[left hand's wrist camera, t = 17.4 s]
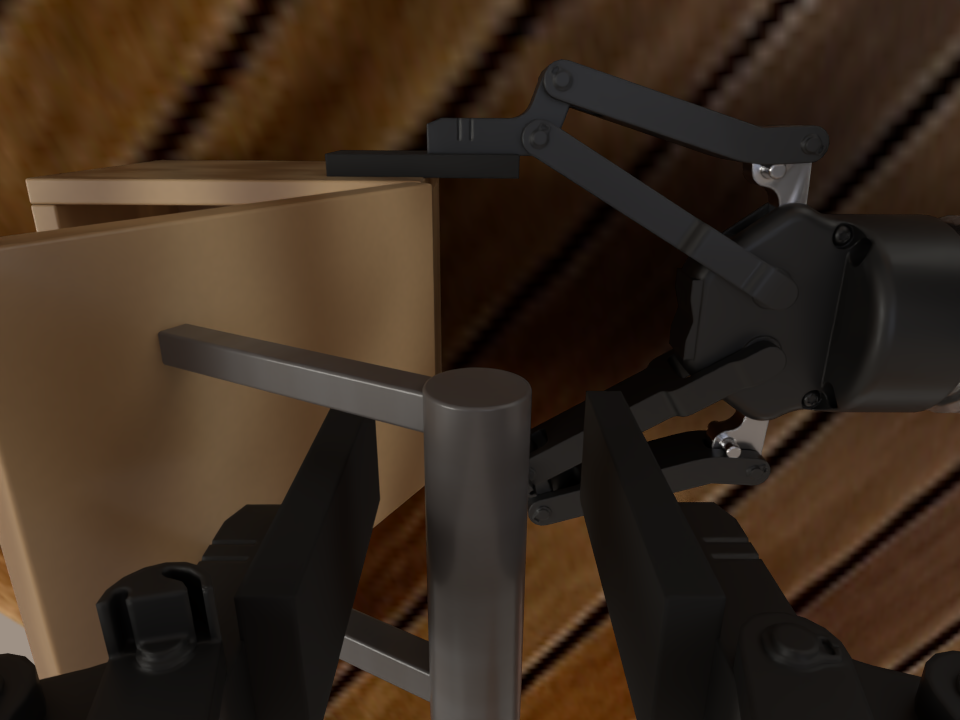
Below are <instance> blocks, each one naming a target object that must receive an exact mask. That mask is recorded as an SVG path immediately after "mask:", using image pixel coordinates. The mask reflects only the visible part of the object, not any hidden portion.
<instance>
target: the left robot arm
mask: <svg viewBox="0 0 960 720" xmlns="http://www.w3.org/2000/svg"><path fill="white" fill-rule="evenodd" d="M379 502H380V486H379V469H378V453H377V436H376V420H373V419H369V418H365V417H362V416H358V415H354V414H350V413H346V412H343V411H339V410H335V409H331V408H330V410H329V412H328V414H327V416H326V418H325V419H324V421H323V423H322V425H321V427H320V429H319V431H318V433H317V435H316V437H315V439H314V441H313V443H312V445H311V447H310V449H309V451H308V453H307V455H306V457H305V459H304V461H303V463H302V465H301V467H300V468H299V470H298V472H297V474H296V476H295V478H294V480H293V482H292V484H291V486H290V488H289V490H288V492H287V494H286V496H285V498H284V500H283V502H282V504H246V505H245V506H244V507H242V508H241V509H240V510H238V511H237V512H236V513H235V514H233V515H232V516H231V517H229V518H228V519H227V520H225V521H224V523H223V524H222V526H221V527H220V529H219V531H218V532H217V534H216V535H215V537H214V538H213V540H212V545H209V546H208V548H207V550H206V551H205V553H204V554H203V556H202V561H199V562H198V564H197V565H196V564H192V563H189V562H165V563H161V564H157V565H153V566H148V567H144V568H142V569H140V570H138V571H136V572H133V573H131V574H129V575H127V576H125V577H123V578H121V579H120V580H119V581H117V582H116V583H115V584H113V585H112V586H111V587H109V588H108V589H107V590H106V591H105V592H104V594H103V595H102V596H101V598H100V599H99V600H98V602H97V603H96V608H97V612H98V616H99V620H100V624H101V628H102V632H103V636H104V640H105V644H106V648H107V652H108V656H109V660H108V662H106V663H103V664H100V665H97V666H93V667H90V668H86V669H82V670H78V671H74V672H70V673H65V674H61V675H57V676H53V677H49V678H44V679H40V680H39V677H38V674H37V670H36V667H35V665H34V664H33V663H32V662H31V661H30V660H28V659H27V658H26V657H25V656H20V655H14V654H9V653H7V654H0V720H323V718H324V715H325V711H326V707H327V703H328V699H329V695H330V691H331V688H332V684H333V680H334V676H335V672H336V668H337V664H338V661H339V657H340V653H341V649H342V645H343V641H344V637H345V634H346V630H347V626H348V622H349V618H350V614H351V610H352V607H353V603H354V599H355V595H356V591H357V587H358V583H359V580H360V576H361V572H362V568H363V564H364V560H365V556H366V553H367V549H368V545H369V541H370V537H371V533H372V529H373V526H374V522H375V518H376V514H377V510H378V506H379ZM580 502H581V506H582V510H583V514H584V518H585V522H586V526H587V529H588V533H589V537H590V541H591V545H592V549H593V553H594V556H595V560H596V564H597V568H598V572H599V576H600V580H601V583H602V587H603V591H604V595H605V599H606V603H607V607H608V610H609V614H610V618H611V622H612V626H613V630H614V634H615V637H616V641H617V645H618V649H619V653H620V657H621V661H622V664H623V668H624V672H625V676H626V680H627V684H628V688H629V691H630V695H631V699H632V703H633V707H634V711H635V715H636V718H637V720H960V651H948V652H942V653H937V654H935V655H934V656H933V657H931V658H930V659H929V660H928V661H927V662H926V664H925V667H924V670H923V674H922V677H919V676H915V675H911V674H906V673H902V672H898V671H894V670H889V669H885V668H881V667H877V666H872V665H869V664H866V663H863V662H860V661H856V660H853V659H852V658H851V657H850V655H849V653H848V652H847V650H846V649H845V647H844V645H843V644H842V642H841V641H840V640H838V639H837V638H836V637H835V636H834V635H832V634H831V633H830V632H829V631H828V630H827V629H825V628H824V627H822V626H820V625H818V624H816V623H814V622H812V621H810V620H808V619H806V618H803V617H800V616H797V615H796V613H795V612H794V610H793V608H792V607H791V605H790V604H789V602H788V601H787V599H786V597H785V596H784V594H783V593H782V591H781V590H780V588H779V586H778V585H777V583H776V582H775V580H774V578H773V577H772V575H771V574H770V572H769V571H768V569H767V567H766V566H765V564H764V563H763V561H762V559H759V557H758V556H759V555H758V553H757V552H756V550H755V548H754V547H753V545H752V544H751V542H748V537H747V536H746V534H745V533H744V531H743V529H742V528H741V526H740V525H739V523H738V522H737V520H736V519H735V518H734V517H732V516H731V515H730V514H729V513H727V512H726V511H725V510H723V509H722V508H721V507H719V506H718V505H717V504H715V503H714V502H677V500H676V498H675V496H674V494H673V492H672V490H671V488H670V486H669V484H668V482H667V480H666V478H665V476H664V474H663V472H662V470H661V468H660V467H659V465H658V463H657V461H656V459H655V457H654V455H653V453H652V451H651V449H650V447H649V445H648V443H647V441H646V439H645V437H644V435H643V433H642V431H641V429H640V427H639V425H638V423H637V421H636V419H635V418H634V416H633V414H632V412H631V410H630V408H629V406H628V404H627V402H626V400H625V398H624V396H623V394H622V392H621V391H586V403H585V420H584V436H583V453H582V469H581V486H580Z"/></svg>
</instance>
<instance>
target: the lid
mask: <svg viewBox="0 0 960 720" xmlns="http://www.w3.org/2000/svg"><path fill="white" fill-rule="evenodd" d="M531 400H532V389H531V386H530V384H529V383H528V381H526V380H525V379H524V378H522V377H521V376H519V375H517V374H514V373H511V372H508V371H504V370H499V369H492V368H461V369H454V370H449V371H445V372H442V373H439V374H437V375H435V328H434V272H433V216H432V185H431V184H429V183H416V182H405V183H398V184H390V185H383V186H375V187H368V188H360V189H353V190H346V191H338V192H331V193H323V194H316V195H308V196H301V197H294V198H286V199H279V200H271V201H264V202H256V203H249V204H242V205H234V206H227V207H219V208H212V209H204V210H197V211H190V212H182V213H175V214H167V215H160V216H152V217H145V218H138V219H130V220H123V221H115V222H108V223H100V224H93V225H86V226H78V227H71V228H63V229H56V230H48V231H41V232H34V233H26V234H19V235H11V236H4V237H0V545H1V548H2V552H3V555H4V559H5V562H6V566H7V569H8V572H9V576H10V579H11V583H12V586H13V590H14V593H15V597H16V600H17V604H18V607H19V610H20V614H21V617H22V621H23V624H24V628H25V631H26V635H27V638H28V642H29V645H30V649H31V652H32V655H33V659H34V662H35V666H36V669H37V673H38V676H39V680H40V679H44V678H49V677H53V676H57V675H61V674H65V673H70V672H74V671H78V670H82V669H86V668H90V667H93V666H97V665H100V664H103V663H106V662H108V660H109V656H108V652H107V648H106V644H105V640H104V636H103V632H102V628H101V624H100V620H99V616H98V612H97V608H96V603H97V602H98V600H99V599H100V598H101V596H102V595H103V594H104V592H105V591H106V590H107V589H108V588H109V587H111V586H112V585H113V584H115V583H116V582H117V581H119V580H120V579H121V578H123V577H125V576H127V575H129V574H131V573H133V572H136V571H138V570H140V569H142V568H144V567H148V566H153V565H157V564H161V563H165V562H189V563H192V564H196V565H197V564H198V562H199V561H202V556H203V554H204V553H205V551H206V550H207V548H208V546H209V545H212V540H213V538H214V537H215V535H216V534H217V532H218V531H219V529H220V527H221V526H222V524H223V523H224V521H225V520H227V519H228V518H229V517H231V516H232V515H233V514H235V513H236V512H237V511H238V510H240V509H241V508H242V507H244V506H245V505H246V504H282V502H283V500H284V498H285V496H286V494H287V492H288V490H289V488H290V486H291V484H292V482H293V480H294V478H295V476H296V474H297V472H298V470H299V468H300V467H301V465H302V463H303V461H304V459H305V457H306V455H307V453H308V451H309V449H310V447H311V445H312V443H313V441H314V439H315V437H316V435H317V433H318V431H319V429H320V427H321V425H322V423H323V421H324V419H325V418H326V416H327V414H328V412H329V410H330V408H331V409H335V410H339V411H343V412H346V413H350V414H354V415H358V416H362V417H365V418H369V419H373V420H376V436H377V453H378V469H379V486H380V502H379V506H378V510H377V514H376V518H375V522H374V526H373V528H374V527H375V526H376V525H377V524H379V523H380V522H381V521H382V520H383V519H385V518H386V517H387V516H388V515H389V514H391V513H392V512H393V511H394V510H395V509H397V508H398V507H399V506H400V505H401V504H403V503H404V502H405V501H406V500H408V499H409V498H410V497H411V496H412V495H414V494H415V493H416V492H417V491H418V490H420V489H421V488H422V487H423V486H424V485H425V512H426V552H427V591H428V630H429V641H426V640H424V639H422V638H419V637H417V636H415V635H412V634H410V633H408V632H405V631H403V630H401V629H398V628H396V627H394V626H392V625H389V624H387V623H385V622H382V621H380V620H378V619H375V618H373V617H371V616H368V615H366V614H364V613H361V612H359V611H357V610H354V609H352V610H351V614H350V618H349V622H348V626H347V630H346V634H345V637H344V641H343V645H342V649H341V653H340V657H339V659H341V660H343V661H346V662H348V663H350V664H352V665H354V666H356V667H358V668H360V669H362V670H364V671H366V672H368V673H371V674H373V675H375V676H377V677H379V678H381V679H383V680H385V681H387V682H389V683H391V684H393V685H396V686H398V687H400V688H402V689H404V690H406V691H408V692H410V693H412V694H414V695H416V696H419V697H421V698H423V699H425V700H427V701H429V702H430V709H431V720H519V719H520V702H521V674H522V647H523V620H524V592H525V565H526V537H527V510H528V482H529V455H530V428H531Z"/></svg>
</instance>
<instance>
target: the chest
mask: <svg viewBox="0 0 960 720" xmlns="http://www.w3.org/2000/svg"><path fill="white" fill-rule="evenodd" d="M405 182H416V183H429V184H431V185H432V216H433V272H434V328H435V375H437V374H439V373H441V372H442V356H441V286H440V216H439V178H423V177H327V174H326V161H232V160H159V161H152V162H144V163H137V164H129V165H122V166H114V167H107V168H99V169H92V170H85V171H77V172H70V173H62V174H55V175H47V176H40V177H32V178H27V179H26V185H27V190H28V194H29V199H30V202H31V203H32V204H33V205H32V206H31V208H32V213H33V217H34V222H35V226H36V231H37V232H41V231H48V230H56V229H63V228H71V227H78V226H86V225H93V224H100V223H108V222H115V221H123V220H130V219H138V218H145V217H152V216H160V215H167V214H175V213H182V212H190V211H197V210H204V209H212V208H219V207H227V206H234V205H242V204H249V203H256V202H264V201H271V200H279V199H286V198H294V197H301V196H308V195H316V194H323V193H331V192H338V191H346V190H353V189H360V188H368V187H375V186H383V185H390V184H398V183H405Z"/></svg>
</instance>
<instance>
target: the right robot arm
mask: <svg viewBox="0 0 960 720" xmlns="http://www.w3.org/2000/svg"><path fill="white" fill-rule="evenodd" d="M569 108H572V109H575V110H578V111H581V112H584V113H587V114H590V115H593V116H596V117H599V118H602V119H605V120H608V121H611V122H613V123H616V124H619V125H622V126H625V127H628V128H631V129H634V130H637V131H640V132H643V133H646V134H649V135H652V136H655V137H658V138H660V139H663V140H666V141H669V142H672V143H675V144H678V145H681V146H684V147H687V148H690V149H693V150H696V151H699V152H702V153H704V154H707V155H710V156H714V157H718V158H721V159H727V160H733V161H739V162H743V175H744V177H745V179H746V180H747V181H748V182H750V183H752V184H756V185H760V186H762V187H763V188H764V189H765V190H766V191H767V193H768V196H769V202H768V203H766V204H764V205H763V206H761V207H760V208H758V209H757V210H755V211H753V212H752V213H750V214H749V215H747V216H746V217H744V218H743V219H741V220H740V221H738V222H737V223H735V224H734V225H732V226H731V227H729V228H728V229H726V230H725V231H723V232H722V233H720V232H718V231H717V230H715V229H714V228H712V227H711V226H709V225H707V224H706V223H704V222H702V221H701V220H699V219H697V218H696V217H694V216H693V215H691V214H690V213H688V212H687V211H685V210H684V209H682V208H681V207H679V206H678V205H676V204H674V203H673V202H671V201H670V200H668V199H667V198H665V197H664V196H662V195H661V194H659V193H658V192H656V191H655V190H653V189H652V188H650V187H649V186H647V185H645V184H644V183H642V182H641V181H639V180H638V179H636V178H635V177H633V176H632V175H630V174H629V173H627V172H626V171H624V170H623V169H621V168H620V167H618V166H617V165H615V164H613V163H612V162H610V161H609V160H607V159H606V158H604V157H603V156H601V155H600V154H598V153H597V152H595V151H594V150H592V149H591V148H589V147H588V146H586V145H584V144H583V143H581V142H580V141H578V140H577V139H575V138H574V137H572V136H571V135H569V134H568V133H566V132H565V131H563V130H562V129H561V127H562V125H563V122H564V119H565V117H566V114H567V112H568V109H569ZM828 146H829V136H828V134H827V132H826V130H824V129H823V128H821V127H819V126H809V125H770V126H756V125H753V124H750V123H747V122H744V121H741V120H738V119H736V118H733V117H730V116H727V115H724V114H721V113H718V112H715V111H713V110H710V109H707V108H704V107H701V106H698V105H695V104H693V103H690V102H687V101H684V100H681V99H678V98H675V97H672V96H670V95H667V94H664V93H661V92H658V91H655V90H652V89H649V88H647V87H644V86H641V85H638V84H635V83H632V82H629V81H627V80H624V79H621V78H618V77H615V76H612V75H609V74H606V73H604V72H601V71H598V70H595V69H592V68H589V67H586V66H583V65H581V64H578V63H575V62H572V61H569V60H562V59H561V60H558V61H555V62H553V63H552V64H550V65H549V66H548V67H546V68H545V69H544V70H543V71H542V72H541V74H540V76H539V78H538V83H537V86H536V88H535V91H534V94H533V96H532V99H531V102H530V104H529V106H528V108H527V109H526V110H525V112H524V113H522V114H521V115H519V116H517V117H515V118H440V119H438V120H435V121H433V122H431V123H428V124H427V151H378V150H340V151H336V152H331V153H327V154H325V160H326V174H327V177H423V178H519V156H534V157H535V158H537V159H538V160H540V161H542V162H543V163H545V164H546V165H548V166H549V167H551V168H552V169H554V170H556V171H557V172H559V173H560V174H562V175H563V176H565V177H567V178H568V179H570V180H571V181H573V182H574V183H576V184H577V185H579V186H581V187H582V188H584V189H585V190H587V191H588V192H590V193H591V194H593V195H595V196H596V197H598V198H599V199H601V200H602V201H604V202H606V203H607V204H609V205H610V206H612V207H613V208H615V209H616V210H618V211H620V212H621V213H623V214H624V215H626V216H627V217H629V218H630V219H632V220H634V221H635V222H637V223H638V224H640V225H641V226H643V227H644V228H646V229H648V230H649V231H651V232H652V233H654V234H655V235H657V236H659V237H660V238H662V239H663V240H665V241H666V242H668V243H669V244H671V245H673V246H674V247H676V248H677V249H679V250H680V251H682V252H683V253H685V254H686V255H688V256H689V257H688V259H687V260H686V262H685V263H684V265H683V268H677V276H676V285H675V288H676V294H677V301H678V309H677V312H676V314H675V317H674V319H673V322H672V324H671V331H670V340H669V344H670V345H671V346H672V347H673V349H672V350H670V351H668V352H666V353H664V354H663V355H661V356H659V357H657V358H655V359H654V360H652V361H651V362H650V363H649V365H648V367H647V368H646V369H645V370H643V371H641V372H639V373H637V374H635V375H633V376H631V377H630V378H628V379H626V380H624V381H622V382H620V383H618V384H616V385H614V386H612V387H610V388H609V389H607V390H605V391H621V392H622V394H623V396H624V398H625V400H626V402H627V404H628V406H629V408H630V410H631V412H632V414H633V416H634V418H635V419H636V421H637V423H638V425H639V427H640V429H641V431H642V432H643V431H645V430H647V429H649V428H651V427H653V426H655V425H657V424H659V423H661V422H663V421H665V420H667V419H669V418H671V417H674V416H681V417H684V416H689V415H691V414H694V413H696V412H698V411H700V410H702V409H704V408H706V407H708V406H710V405H712V404H714V403H716V402H718V401H719V400H721V399H723V400H724V401H725V402H727V403H728V404H729V405H731V406H732V407H733V408H735V409H736V412H735V413H734V415H733V416H732V417H731V418H729V419H727V420H725V421H720V422H718V421H712V422H710V423H709V425H708V430H698V431H689V432H683V433H679V434H674V435H671V436H667V437H663V438H659V439H655V440H652V441H648V442H647V443H648V445H649V447H650V449H651V451H652V453H653V455H654V457H655V459H656V461H657V463H658V465H659V467H660V468H661V470H662V472H663V474H664V476H665V478H666V480H667V482H668V484H669V486H670V488H671V490H672V492H673V493H675V492H679V491H682V490H686V489H690V488H694V487H698V486H702V485H706V484H710V483H718V484H738V485H758V484H760V483H762V482H764V481H765V480H766V479H767V478H768V476H769V474H770V466H769V464H768V463H767V461H766V460H765V459H764V458H763V457H762V455H761V453H762V448H763V444H764V440H765V435H766V431H767V426H768V422H769V420H772V419H775V418H777V417H779V416H782V415H784V414H786V413H789V412H792V411H795V410H801V409H808V410H818V411H827V412H919V411H923V410H929V411H932V412H936V413H960V215H948V216H944V217H940V218H936V217H932V216H929V215H887V214H822V213H820V212H818V211H816V210H815V209H813V208H812V207H810V206H808V205H807V197H808V189H809V181H810V173H811V165H812V162H816V161H818V160H819V159H821V158H822V157H823V156H824V154H825V153H826V152H827V149H828ZM690 375H691V376H690ZM688 376H690V377H688ZM686 377H687V378H686ZM585 403H586V401H584V402H582V403H580V404H578V405H576V406H574V407H572V408H570V409H569V410H567V411H565V412H563V413H561V414H559V415H557V416H555V417H553V418H551V419H549V420H548V421H546V422H544V423H542V424H540V425H538V426H536V427H534V428H532V429H530V455H529V482H528V515H529V518H530V520H531V521H532V522H533V523H535V524H537V525H549V524H553V523H557V522H560V521H564V520H568V519H572V518H576V517H580V516H584V514H583V510H582V506H581V502H580V486H581V469H582V453H583V436H584V420H585Z"/></svg>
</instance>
